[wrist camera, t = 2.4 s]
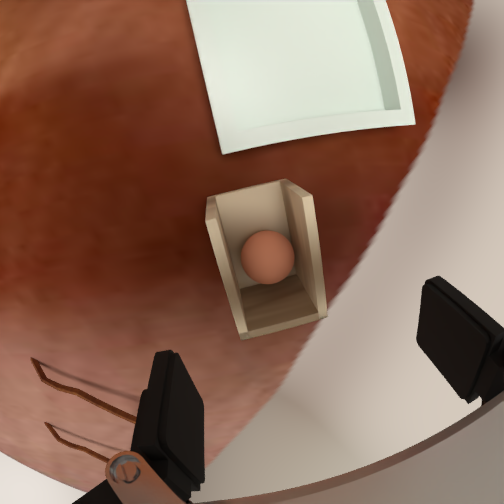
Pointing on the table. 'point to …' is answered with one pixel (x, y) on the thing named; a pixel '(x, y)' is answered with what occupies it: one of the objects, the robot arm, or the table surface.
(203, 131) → the table surface
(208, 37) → the tray
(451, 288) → the robot arm
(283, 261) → the ball
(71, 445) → the glasses
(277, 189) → the beige open holder
